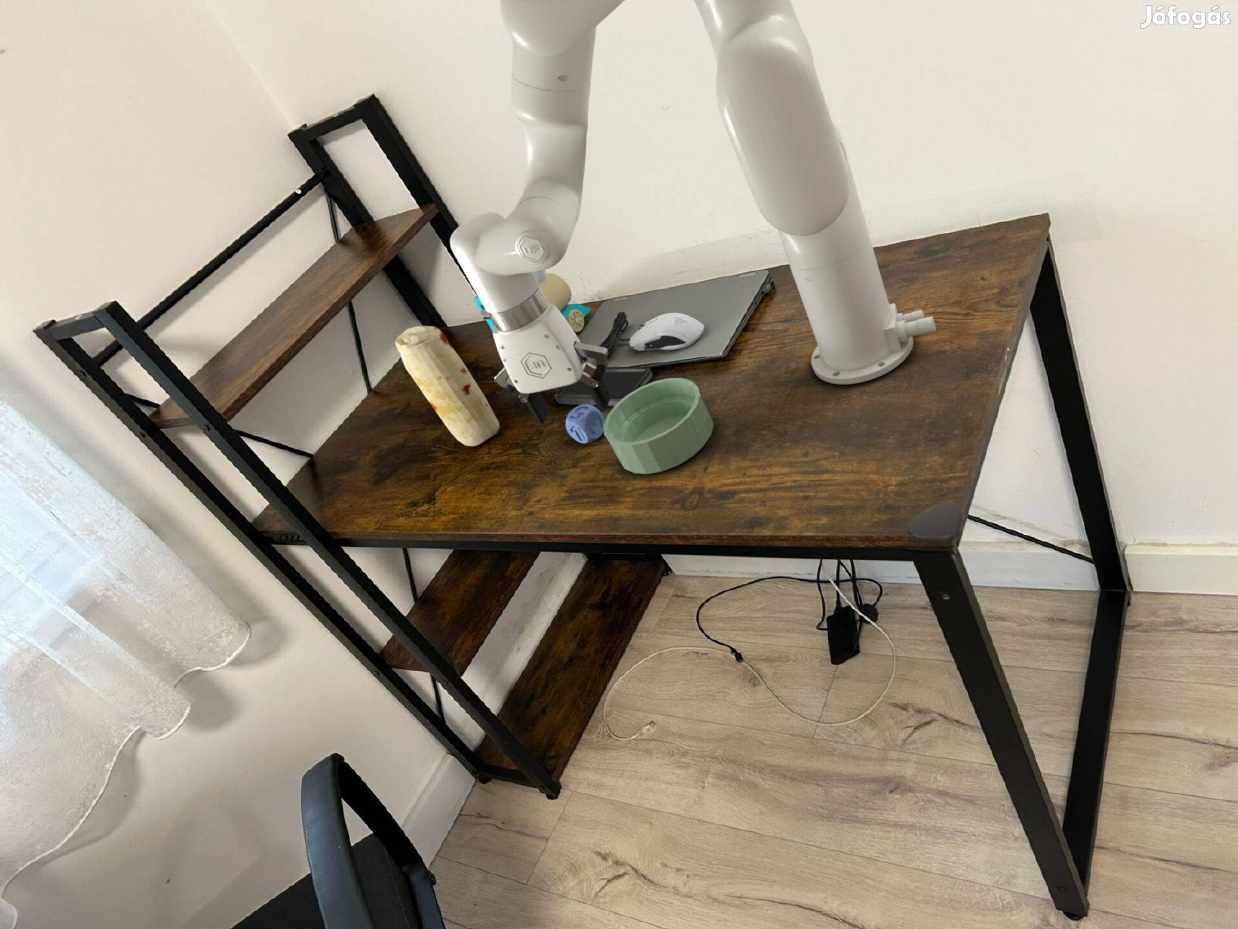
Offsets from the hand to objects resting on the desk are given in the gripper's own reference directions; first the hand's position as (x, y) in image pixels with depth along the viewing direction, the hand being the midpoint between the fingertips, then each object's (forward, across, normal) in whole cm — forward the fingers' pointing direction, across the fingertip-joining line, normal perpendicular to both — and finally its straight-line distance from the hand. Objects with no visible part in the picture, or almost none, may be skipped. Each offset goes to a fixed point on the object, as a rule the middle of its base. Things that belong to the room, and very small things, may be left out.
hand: (574, 412), depth 121 cm
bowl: (+4, +14, -5) cm, 15 cm away
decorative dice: (+4, +1, 0) cm, 5 cm away
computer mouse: (+4, +6, +22) cm, 23 cm away
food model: (+5, -21, +6) cm, 23 cm away
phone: (+4, 0, +11) cm, 12 cm away
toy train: (+5, -15, +30) cm, 34 cm away
